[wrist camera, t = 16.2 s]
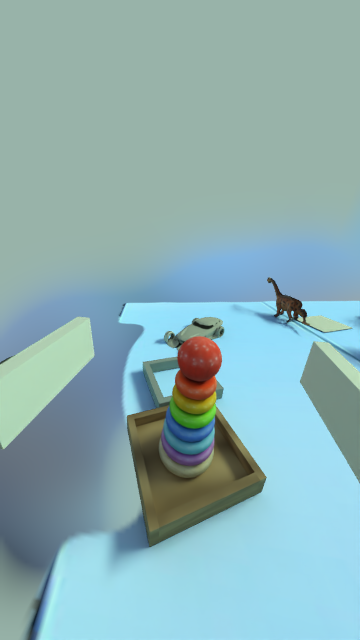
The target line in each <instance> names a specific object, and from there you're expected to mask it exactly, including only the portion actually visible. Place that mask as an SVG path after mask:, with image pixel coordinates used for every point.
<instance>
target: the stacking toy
mask: <svg viewBox="0 0 360 640" xmlns="http://www.w3.org/2000/svg"><path fill="white" fill-rule="evenodd" d="M177 360H178V365H179V368H180V370H179V371H178V373H177V374H176V377H175V385H174V387H173V392H172V395H173V396H172V398H171V400H170V406H169V407H168V409H167V412H166V418H165V420H164V425H163V429H162V433H161V438H160V441H159V454H160V458H161V460H162V462H163V464H164V465H165V467H166V468H167V469H168V470H169V471H170V472H172V473H173V474H175V475H177V476H179V477H184V478H192V477H196V476H199V475H201V474H202V473H204V472H205V471H206V470H207V469H208V468H209V466H210V464H211V462H212V460H213V456H214V434H215V429H214V425H215V414H216V404H215V402H216V392H215V390H216V387H217V381H216V378H215V375H216V374H217V372H218V371H219V369H220V367H221V363H222V355H221V351H220V349H219V347H218V346H217V344H216V343H215V342H214V341H212V340H211V339H209V338H206V337H201V336H197V337H192V338H190V339H188V340H186V341H185V342H184V343H183V344H182V345H181V347H180V349H179V351H178V357H177Z"/></svg>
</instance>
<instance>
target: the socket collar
mask: <svg viewBox="0 0 360 640" xmlns="http://www.w3.org/2000/svg"><path fill="white" fill-rule="evenodd" d="M175 368H179V365H178V360H177V357H172V358H166V359H159V360H153V361H147V362H143V373H144V375H145V378H146V381H147V383H148V386H149V389H150V392H151V394H152V397H153V400H154V402H155V405H156V408H160V407H164V406H168V405H170V400H171V398H172V396H168V397H163V395H162V393H161V390H160V388H159V386H158V383H157V381H156V379H155V376H154V374H153V372H158V371H164V370H169V369H175ZM216 381H217V380H216ZM215 392H216V399H220V398H222V394H223V387H222V386H221V385H220V384H219V382H218V381H217V387H216V390H215Z"/></svg>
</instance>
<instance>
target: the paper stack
mask: <svg viewBox="0 0 360 640" xmlns="http://www.w3.org/2000/svg"><path fill="white" fill-rule="evenodd" d="M305 319H306V322H307V323H309V324H310V326H312V327H314V328H316V329H319V330H321V331H323V332H330V331H337V330H344V329H350V328H352V327H349V326H346V325H344V324H341V323H339V322H336V321H333V320H331V319H328V318H326V317H323V316H311V317H306V318H305ZM297 320H299V321H301V322H303V317H302V318H298V319H297Z"/></svg>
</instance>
